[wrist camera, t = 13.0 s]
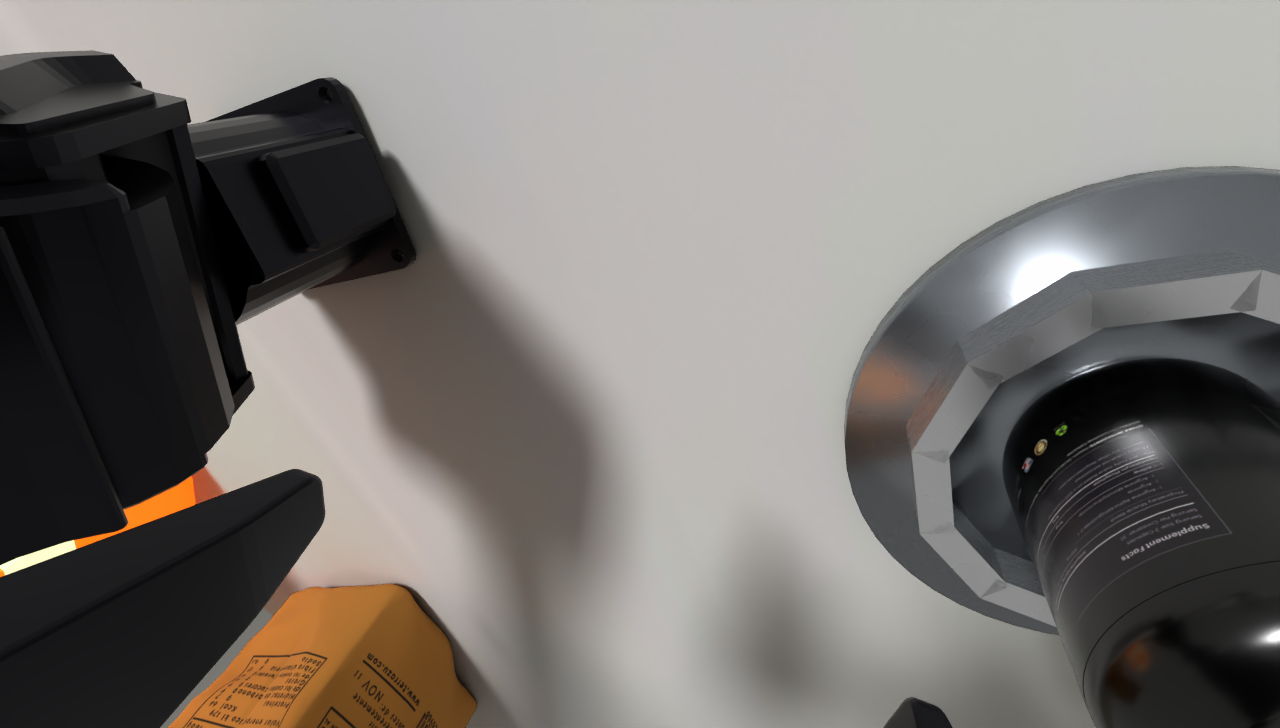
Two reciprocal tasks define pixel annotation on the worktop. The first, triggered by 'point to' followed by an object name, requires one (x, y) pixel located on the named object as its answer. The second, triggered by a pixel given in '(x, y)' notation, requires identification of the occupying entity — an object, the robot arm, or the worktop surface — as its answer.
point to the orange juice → (136, 516)
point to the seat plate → (1006, 279)
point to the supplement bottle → (1157, 539)
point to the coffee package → (339, 668)
